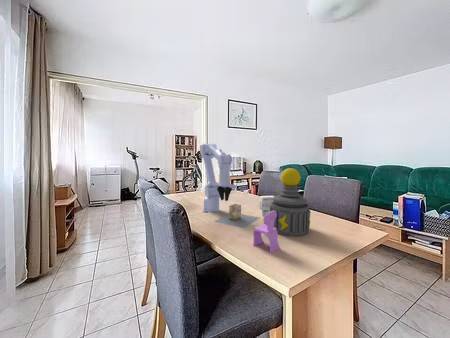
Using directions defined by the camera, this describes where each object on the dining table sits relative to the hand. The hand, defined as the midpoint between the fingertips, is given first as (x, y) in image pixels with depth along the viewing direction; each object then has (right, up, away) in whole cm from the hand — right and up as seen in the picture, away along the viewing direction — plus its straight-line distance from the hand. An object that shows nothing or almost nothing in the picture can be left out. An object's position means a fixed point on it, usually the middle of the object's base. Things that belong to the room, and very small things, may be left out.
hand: (224, 200), depth 120 cm
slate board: (+7, -11, -4) cm, 13 cm away
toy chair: (+17, -14, -35) cm, 41 cm away
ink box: (+25, -10, +6) cm, 28 cm away
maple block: (+6, -10, -3) cm, 12 cm away
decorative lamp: (+31, -12, -16) cm, 37 cm away
